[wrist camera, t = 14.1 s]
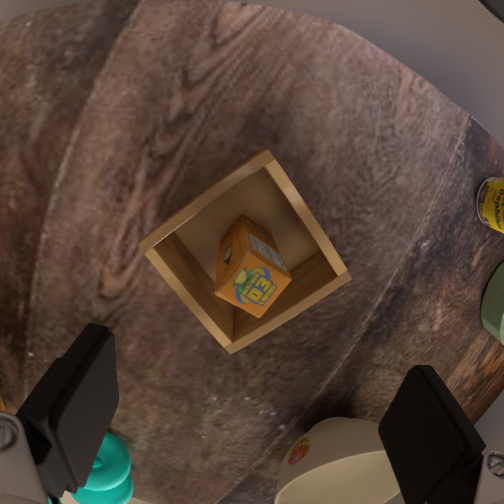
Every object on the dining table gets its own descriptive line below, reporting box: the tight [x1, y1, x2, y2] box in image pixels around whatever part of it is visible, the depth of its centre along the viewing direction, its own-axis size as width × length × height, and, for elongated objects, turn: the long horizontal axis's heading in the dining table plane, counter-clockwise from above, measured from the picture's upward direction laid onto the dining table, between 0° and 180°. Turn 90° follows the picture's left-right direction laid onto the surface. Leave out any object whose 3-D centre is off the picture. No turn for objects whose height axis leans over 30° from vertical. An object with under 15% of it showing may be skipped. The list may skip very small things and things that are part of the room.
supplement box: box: [214, 214, 292, 318], centre depth 22 cm, size 3×4×10 cm
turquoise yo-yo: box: [70, 432, 133, 504], centre depth 31 cm, size 10×10×10 cm
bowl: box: [275, 417, 400, 504], centre depth 31 cm, size 16×16×10 cm
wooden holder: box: [138, 149, 352, 354], centre depth 25 cm, size 11×11×7 cm
